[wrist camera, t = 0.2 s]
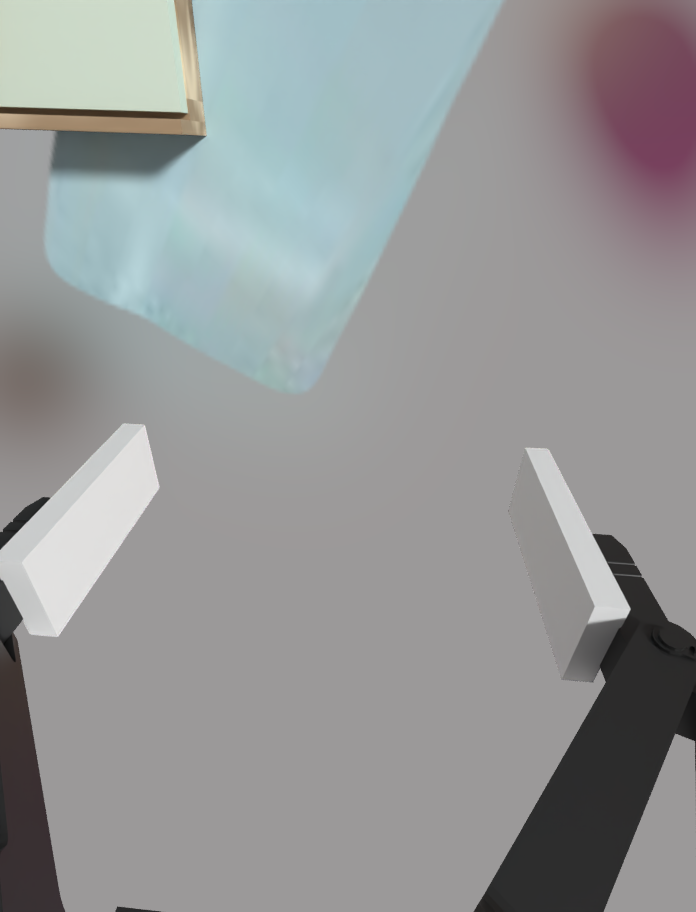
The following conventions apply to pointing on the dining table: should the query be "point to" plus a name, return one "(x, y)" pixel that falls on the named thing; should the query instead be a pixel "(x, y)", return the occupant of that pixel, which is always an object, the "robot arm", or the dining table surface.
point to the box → (126, 119)
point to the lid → (91, 55)
